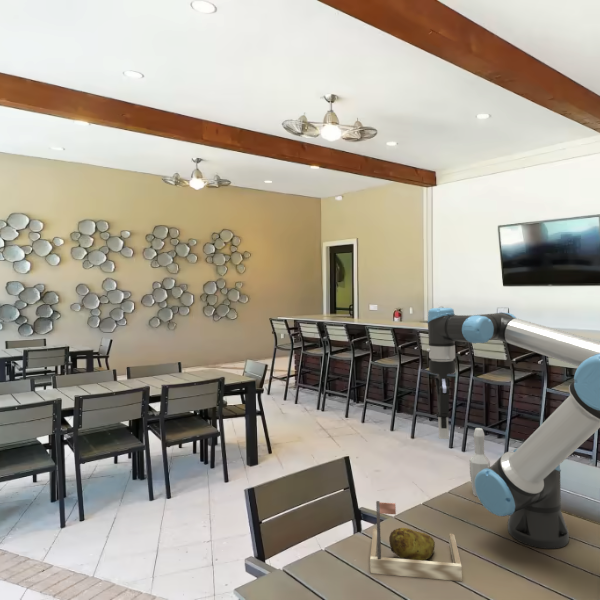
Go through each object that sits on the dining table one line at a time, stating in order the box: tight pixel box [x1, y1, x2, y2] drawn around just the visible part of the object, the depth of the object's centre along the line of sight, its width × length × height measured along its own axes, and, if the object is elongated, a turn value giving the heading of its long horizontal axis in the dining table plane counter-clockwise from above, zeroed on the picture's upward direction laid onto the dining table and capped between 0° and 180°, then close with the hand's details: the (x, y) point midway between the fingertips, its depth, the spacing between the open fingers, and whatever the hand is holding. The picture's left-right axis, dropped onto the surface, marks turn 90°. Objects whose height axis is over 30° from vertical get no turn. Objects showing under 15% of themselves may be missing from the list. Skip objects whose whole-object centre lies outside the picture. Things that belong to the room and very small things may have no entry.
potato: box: [389, 527, 436, 561], centre depth 122 cm, size 8×13×8 cm, turn 98°
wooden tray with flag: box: [369, 500, 463, 582], centre depth 122 cm, size 21×15×18 cm
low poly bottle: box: [469, 427, 491, 498], centre depth 159 cm, size 6×6×22 cm
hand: (443, 437), depth 142 cm, fingers closed
